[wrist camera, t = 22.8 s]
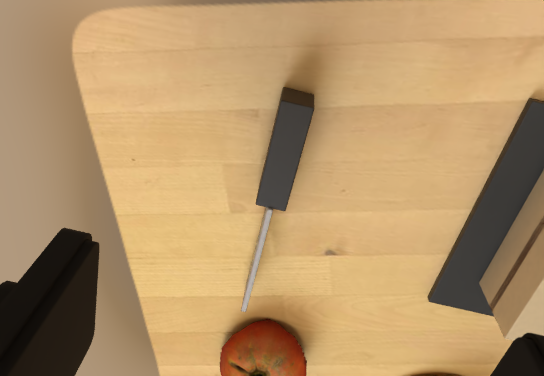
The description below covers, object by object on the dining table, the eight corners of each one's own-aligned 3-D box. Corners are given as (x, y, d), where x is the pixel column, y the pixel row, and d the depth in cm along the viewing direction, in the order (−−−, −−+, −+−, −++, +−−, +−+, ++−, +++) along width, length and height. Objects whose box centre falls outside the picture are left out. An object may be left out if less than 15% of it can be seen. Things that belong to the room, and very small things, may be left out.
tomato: (314, 328, 41) (296, 419, 39) (314, 332, 48) (300, 411, 45) (224, 307, 43) (203, 395, 40) (237, 315, 49) (219, 390, 47)
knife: (283, 86, 33) (280, 101, 30) (314, 94, 33) (314, 109, 30) (235, 284, 42) (230, 308, 39) (260, 289, 42) (256, 314, 39)
